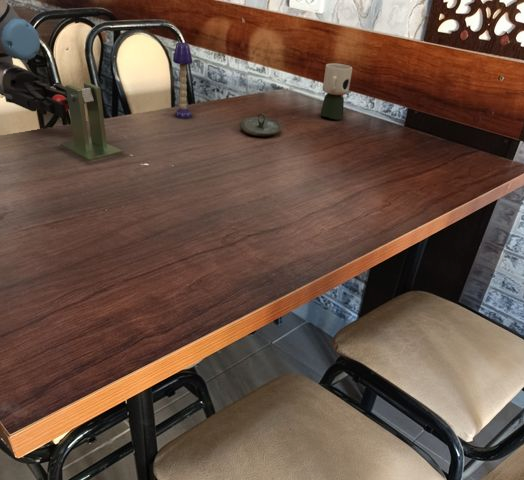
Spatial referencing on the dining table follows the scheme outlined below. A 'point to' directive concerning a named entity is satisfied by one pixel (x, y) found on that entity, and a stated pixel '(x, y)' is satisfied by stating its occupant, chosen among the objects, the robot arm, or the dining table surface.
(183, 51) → the toy lamp
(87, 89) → the lever
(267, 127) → the lid
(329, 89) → the character mug
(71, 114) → the stand
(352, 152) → the dining table surface
